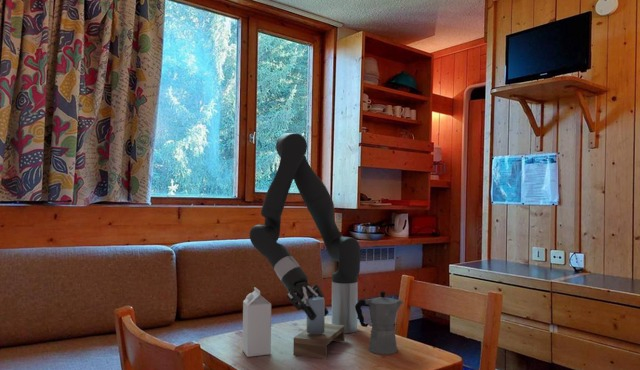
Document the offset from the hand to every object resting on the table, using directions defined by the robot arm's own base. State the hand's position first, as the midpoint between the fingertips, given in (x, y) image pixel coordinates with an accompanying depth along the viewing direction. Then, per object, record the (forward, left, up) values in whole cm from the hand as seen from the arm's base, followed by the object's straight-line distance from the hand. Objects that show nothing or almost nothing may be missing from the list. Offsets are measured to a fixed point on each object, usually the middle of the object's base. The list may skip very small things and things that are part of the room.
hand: (320, 316), depth 140 cm
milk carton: (+7, -18, -11) cm, 22 cm away
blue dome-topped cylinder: (0, -2, -5) cm, 5 cm away
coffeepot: (-8, +16, -11) cm, 21 cm away
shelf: (-4, -2, -11) cm, 12 cm away
